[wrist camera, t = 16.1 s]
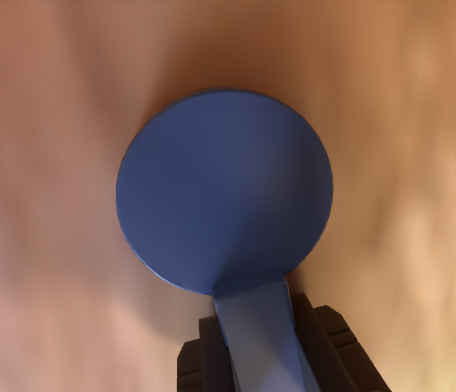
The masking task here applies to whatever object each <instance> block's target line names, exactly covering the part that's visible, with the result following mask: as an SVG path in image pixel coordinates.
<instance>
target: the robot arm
mask: <svg viewBox="0 0 456 392" xmlns="http://www.w3.org/2000/svg"><path fill="white" fill-rule="evenodd" d="M290 298H291V303H292V308H293V314H294V319H295V324H296V328H295V329H294V332H295V337H296V342H297V347H298V353H299V358H300V363H301V368H302V373H303V379H304V384H305V389H306V392H392V391H391V390H390V389H389V387H388V386H387V384H386V383H385V381H384V380H383V378H382V377H381V375H380V374H379V372H378V371H377V369H376V368H375V366H374V364H373V363H372V361H371V360H370V358H369V357H368V355H367V354H366V352H365V351H364V349H363V348H362V346H361V345H360V343H358V341H357V338H356V337H355V335H354V334H353V332H352V331H351V330H350V328H349V326H348V325H347V323H346V322H345V320H344V318H343V317H342V315H341V314H339V313H338V312H336V311H335V310H333V309H332V308H330V307H329V306H327V305H324V306H321V307H317V308H313V307H312V305H311V304H310V302H309V300H308V298H307V296H306V295H305V293H304V292H302V293H298V294H295V295H291V296H290ZM199 333H200V339H196V340H192V341H188V342H185V343H184V345H183V347H182V349H181V351H180V353H179V356H178V358H177V376H178V377H177V392H241V391H240V388H239V384H238V381H237V377H236V373H235V370H234V366H233V363H232V359H231V355H230V352H229V348H228V346H226V345H225V342H224V338H223V335H222V331H221V327H220V324H219V320H218V317H217V315H214V316H210V317H207V318H203V319H199Z"/></svg>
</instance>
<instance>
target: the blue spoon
mask: <svg viewBox="0 0 456 392" xmlns="http://www.w3.org/2000/svg"><path fill="white" fill-rule="evenodd" d="M332 199H333V176H332V170H331V165H330V161H329V158H328V155H327V152H326V150H325V148H324V146H323V144H322V142H321V140H320V138H319V136H318V135H317V133H316V132H315V131H314V129H313V128H312V126H311V125H310V124H309V123H308V122H307V121H306V120H305V119H304V118H303V117H302V116H301V115H300V114H299V113H297V112H296V111H295V110H294V109H292V108H291V107H290V106H288V105H286V104H285V103H283V102H281V101H280V100H278V99H276V98H273V97H271V96H268V95H266V94H263V93H259V92H256V91H252V90H248V89H244V88H238V87H229V86H221V87H209V88H203V89H198V90H195V91H192V92H189V93H186V94H183V95H181V96H179V97H177V98H175V99H173V100H171V101H170V102H168V103H167V104H165V105H164V106H162V107H161V108H160V109H159V110H157V111H156V112H155V113H154V114H153V115H152V116H151V117H150V118H149V119H148V120H147V121H146V122H145V124H144V125H143V126H142V127H141V129H140V130H139V131H138V133H137V134H136V136H135V137H134V139H133V140H132V142H131V143H130V145H129V146H128V149H127V151H126V153H125V155H124V157H123V159H122V162H121V166H120V169H119V172H118V177H117V184H116V208H117V215H118V219H119V222H120V226H121V229H122V232H123V234H124V236H125V238H126V241H127V242H128V244H129V246H130V247H131V249H132V250H133V252H134V253H135V255H136V256H137V257H138V258H139V259H140V261H141V262H142V263H143V264H144V265H145V266H146V267H147V268H148V269H149V270H150V271H152V272H153V273H154V274H156V275H157V276H158V277H160V278H161V279H163V280H164V281H166V282H168V283H170V284H172V285H174V286H176V287H179V288H181V289H184V290H186V291H190V292H194V293H198V294H204V295H212V297H213V303H214V306H215V310H216V313H217V317H218V320H219V324H220V327H221V331H222V335H223V338H224V342H225V345H226V346H228V348H229V352H230V355H231V359H232V363H233V366H234V370H235V373H236V377H237V381H238V384H239V388H240V391H241V392H306V389H305V384H304V379H303V373H302V368H301V363H300V358H299V353H298V347H297V342H296V337H295V332H294V329H295V328H296V324H295V319H294V314H293V308H292V303H291V298H290V293H289V287H288V282H287V280H286V278H285V276H286V275H287V274H288V273H290V272H291V271H292V270H294V269H295V268H296V267H297V266H298V265H299V264H300V263H301V262H302V261H303V260H304V259H305V258H306V257H307V256H308V255H309V253H310V252H311V251H312V250H313V248H314V247H315V245H316V244H317V242H318V241H319V239H320V237H321V235H322V233H323V231H324V229H325V227H326V224H327V221H328V218H329V215H330V211H331V206H332Z"/></svg>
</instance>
